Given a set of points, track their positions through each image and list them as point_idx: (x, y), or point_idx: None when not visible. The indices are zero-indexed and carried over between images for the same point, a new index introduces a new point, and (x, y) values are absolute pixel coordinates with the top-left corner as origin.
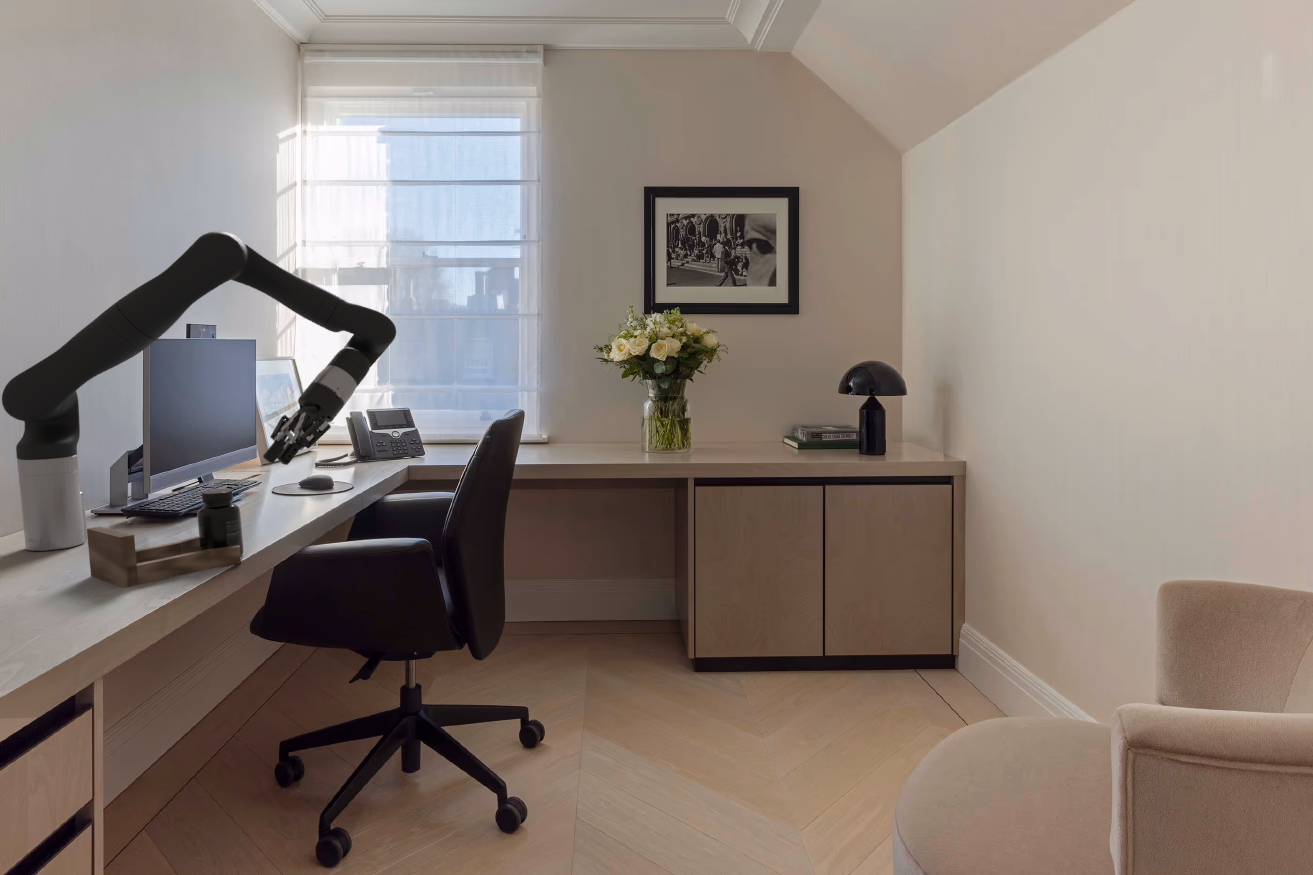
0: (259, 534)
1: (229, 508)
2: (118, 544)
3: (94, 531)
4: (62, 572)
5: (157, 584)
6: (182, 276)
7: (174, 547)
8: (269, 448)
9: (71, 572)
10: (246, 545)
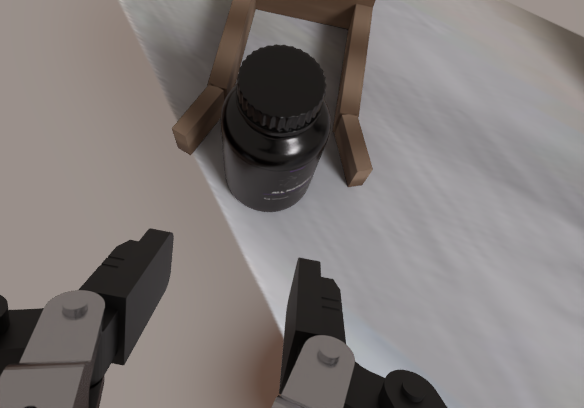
0: None
1: (228, 107)
2: None
3: None
4: (436, 20)
5: (208, 13)
6: None
7: (339, 107)
8: (313, 291)
9: (423, 24)
10: None
